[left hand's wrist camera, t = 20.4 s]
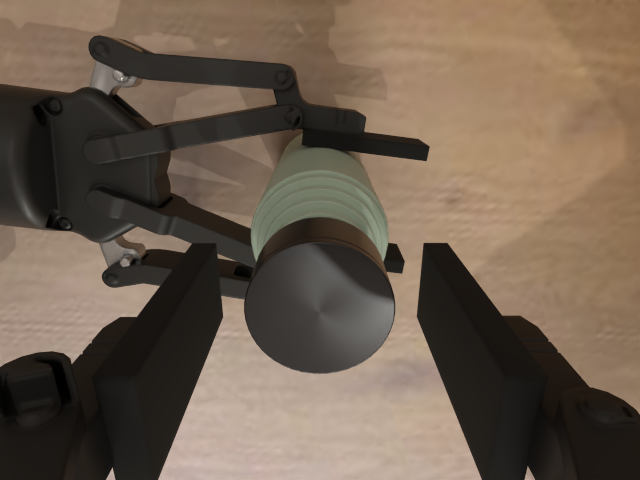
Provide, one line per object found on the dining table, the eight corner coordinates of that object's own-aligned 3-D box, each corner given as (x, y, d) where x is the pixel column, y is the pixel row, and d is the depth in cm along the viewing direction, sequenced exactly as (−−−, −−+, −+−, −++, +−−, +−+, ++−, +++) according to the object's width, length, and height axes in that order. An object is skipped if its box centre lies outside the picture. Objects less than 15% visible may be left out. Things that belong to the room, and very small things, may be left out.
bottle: (377, 166, 30) (455, 291, 13) (324, 224, 32) (329, 407, 14) (315, 111, 29) (307, 167, 11) (263, 174, 31) (186, 310, 13)
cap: (276, 344, 15) (269, 386, 13) (237, 234, 14) (223, 262, 12) (395, 317, 15) (407, 357, 13) (369, 201, 14) (378, 225, 11)
